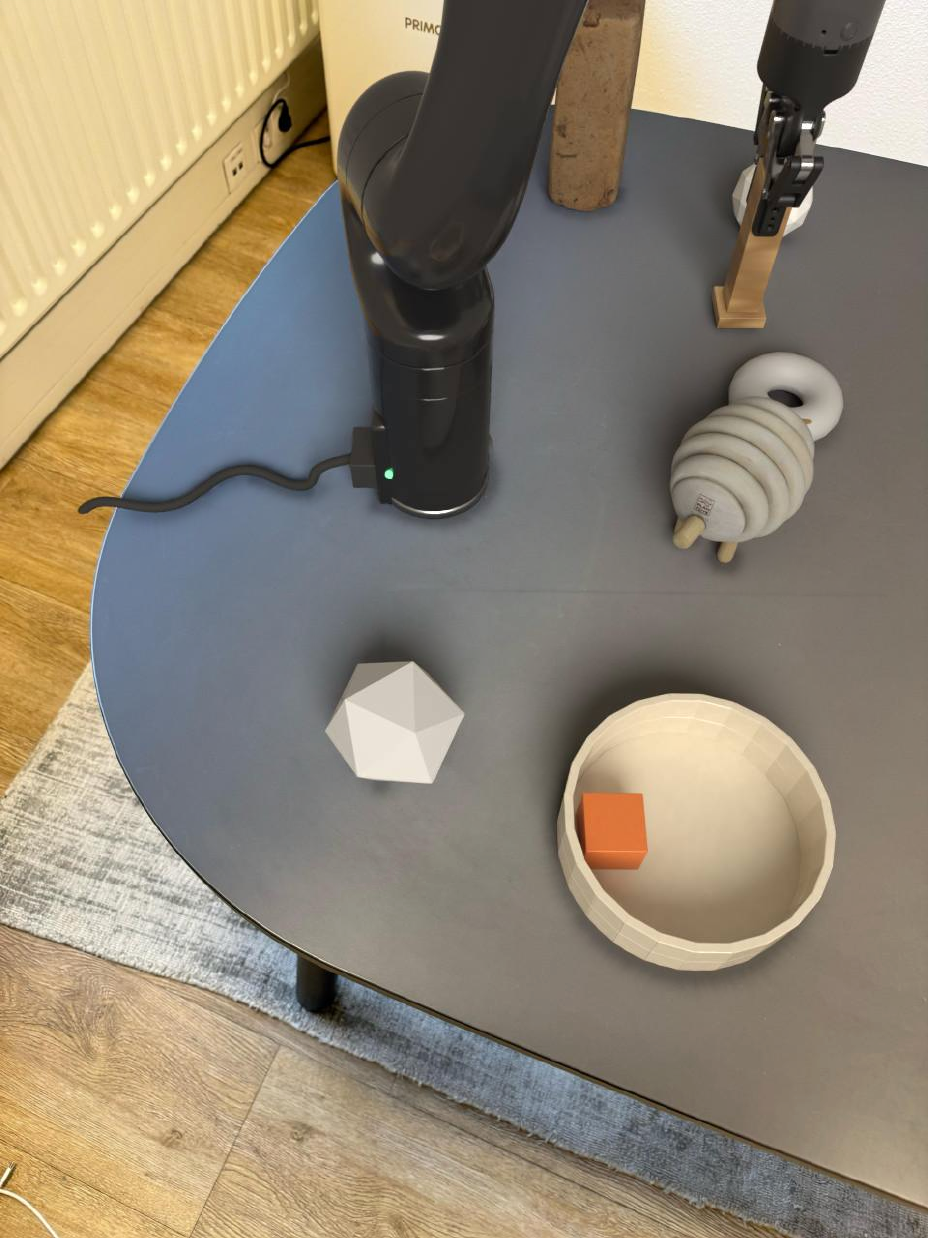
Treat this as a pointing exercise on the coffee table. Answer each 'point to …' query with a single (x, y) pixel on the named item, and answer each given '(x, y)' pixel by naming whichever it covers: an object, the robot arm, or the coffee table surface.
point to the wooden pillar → (748, 267)
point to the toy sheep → (740, 473)
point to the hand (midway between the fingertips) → (761, 219)
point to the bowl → (701, 831)
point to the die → (394, 723)
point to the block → (595, 105)
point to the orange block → (612, 830)
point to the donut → (793, 387)
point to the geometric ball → (740, 203)
